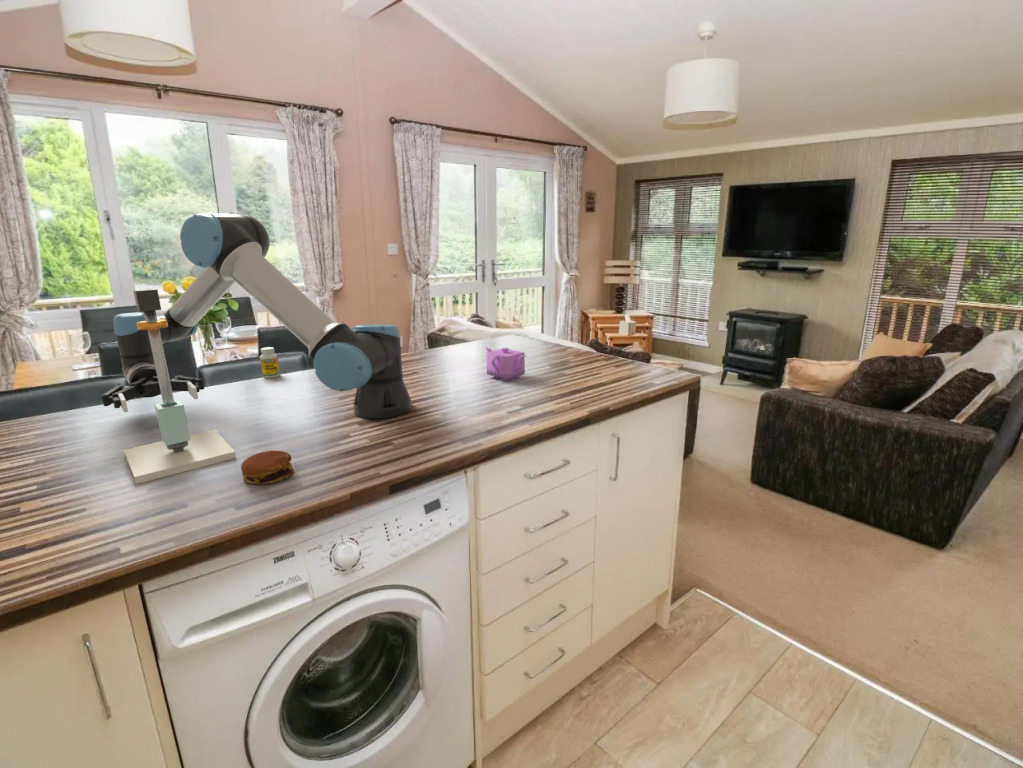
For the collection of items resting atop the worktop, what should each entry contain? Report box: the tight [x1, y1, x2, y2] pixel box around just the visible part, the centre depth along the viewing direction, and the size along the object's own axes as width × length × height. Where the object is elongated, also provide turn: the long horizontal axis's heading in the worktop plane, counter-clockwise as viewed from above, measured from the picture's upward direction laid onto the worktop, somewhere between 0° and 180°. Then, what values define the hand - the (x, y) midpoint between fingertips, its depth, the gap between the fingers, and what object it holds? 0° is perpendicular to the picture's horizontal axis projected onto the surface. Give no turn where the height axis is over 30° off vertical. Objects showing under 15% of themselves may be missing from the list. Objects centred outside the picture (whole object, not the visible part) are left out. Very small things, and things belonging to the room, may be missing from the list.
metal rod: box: [133, 287, 188, 453], centre depth 111 cm, size 5×5×34 cm
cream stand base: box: [123, 428, 237, 485], centre depth 116 cm, size 18×18×2 cm
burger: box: [240, 450, 295, 485], centre depth 106 cm, size 10×9×5 cm
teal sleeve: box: [154, 399, 191, 446], centre depth 114 cm, size 5×5×8 cm
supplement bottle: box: [259, 346, 281, 379], centre depth 179 cm, size 5×5×10 cm
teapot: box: [485, 347, 527, 383], centre depth 172 cm, size 18×13×10 cm
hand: (161, 399), depth 121 cm, fingers open, 13 cm apart
